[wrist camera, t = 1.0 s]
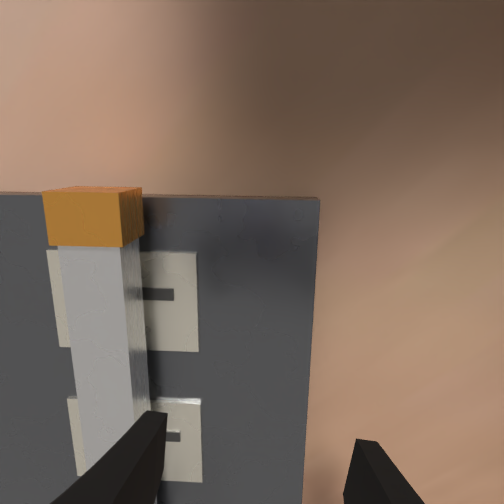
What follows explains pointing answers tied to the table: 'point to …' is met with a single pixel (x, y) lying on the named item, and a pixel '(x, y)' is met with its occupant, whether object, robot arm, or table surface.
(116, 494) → the robot arm
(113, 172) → the table surface
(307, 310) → the panel
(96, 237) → the cable arm
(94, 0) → the table surface
